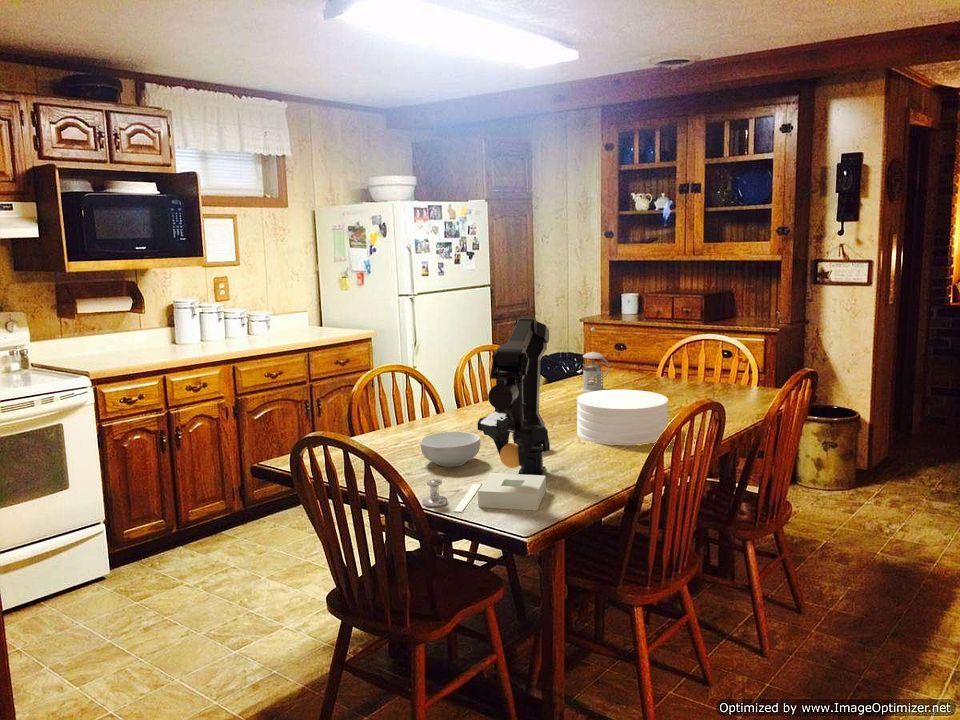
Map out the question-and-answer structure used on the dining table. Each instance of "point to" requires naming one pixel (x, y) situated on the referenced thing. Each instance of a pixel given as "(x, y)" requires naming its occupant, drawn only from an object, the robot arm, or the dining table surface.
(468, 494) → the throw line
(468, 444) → the cereal bowl
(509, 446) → the ball
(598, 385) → the french press
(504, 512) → the dining table surface
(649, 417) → the plate stack
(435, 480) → the tee
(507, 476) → the block
